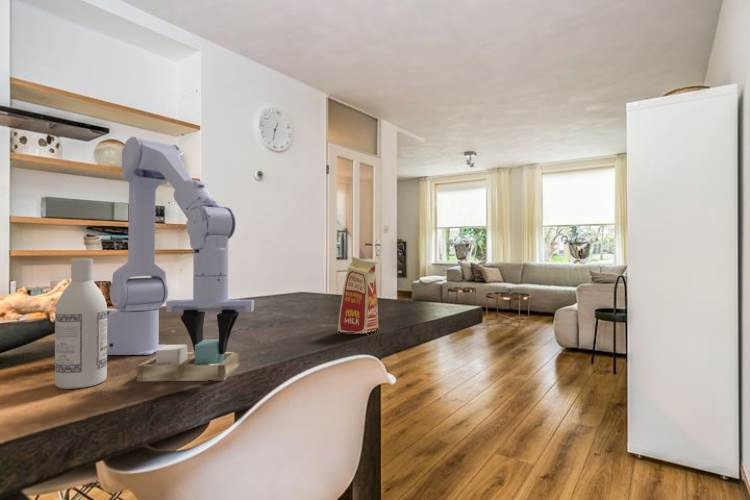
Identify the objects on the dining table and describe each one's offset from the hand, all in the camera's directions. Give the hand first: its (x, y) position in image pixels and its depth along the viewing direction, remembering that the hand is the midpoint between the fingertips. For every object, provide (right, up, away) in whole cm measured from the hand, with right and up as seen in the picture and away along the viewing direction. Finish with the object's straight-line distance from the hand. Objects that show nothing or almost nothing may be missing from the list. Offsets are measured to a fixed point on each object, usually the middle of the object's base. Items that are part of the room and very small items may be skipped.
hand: (210, 353), depth 77 cm
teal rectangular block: (0, -2, 0) cm, 2 cm away
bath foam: (-18, -4, -6) cm, 20 cm away
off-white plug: (-6, -3, 0) cm, 7 cm away
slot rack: (-3, -3, 0) cm, 5 cm away
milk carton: (+25, -4, +40) cm, 47 cm away
